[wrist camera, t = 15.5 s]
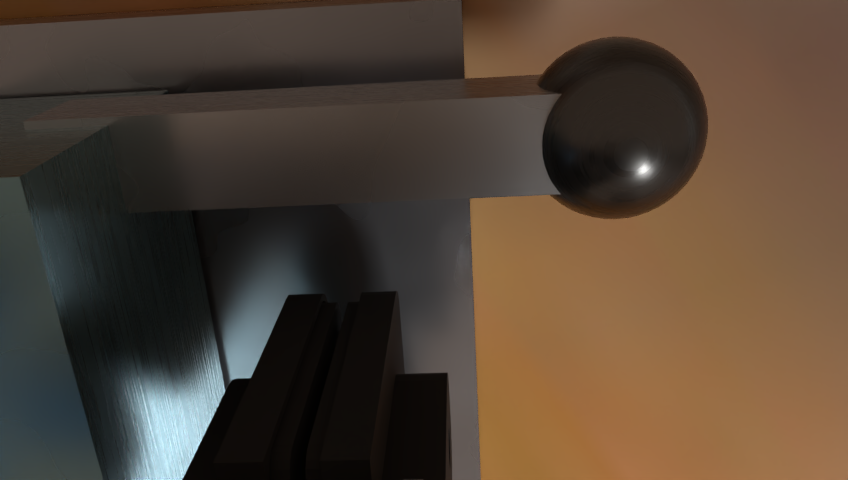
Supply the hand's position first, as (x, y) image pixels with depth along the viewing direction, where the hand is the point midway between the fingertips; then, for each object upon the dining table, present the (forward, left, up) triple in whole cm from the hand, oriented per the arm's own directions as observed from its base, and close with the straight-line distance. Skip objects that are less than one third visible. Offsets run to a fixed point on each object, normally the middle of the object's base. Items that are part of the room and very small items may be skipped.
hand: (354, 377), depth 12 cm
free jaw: (0, 0, -1) cm, 1 cm away
